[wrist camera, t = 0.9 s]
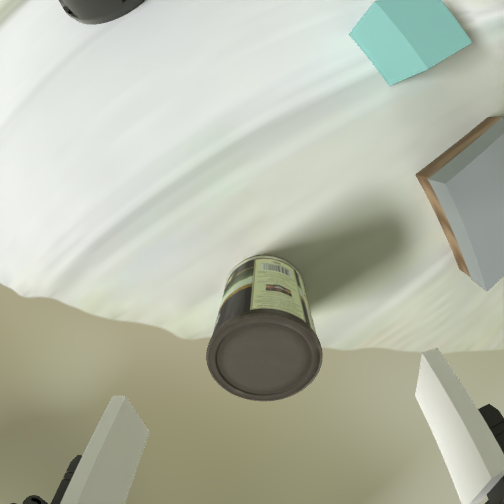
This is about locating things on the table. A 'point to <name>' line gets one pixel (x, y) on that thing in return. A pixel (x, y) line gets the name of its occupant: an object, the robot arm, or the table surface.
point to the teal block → (408, 36)
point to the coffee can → (264, 332)
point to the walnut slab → (436, 166)
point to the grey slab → (477, 204)
